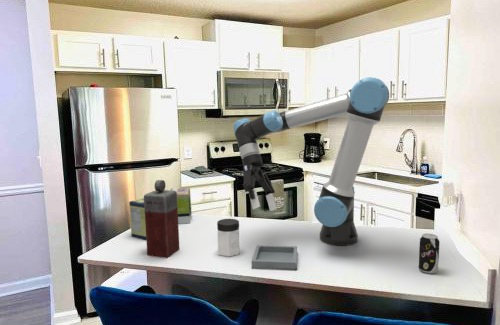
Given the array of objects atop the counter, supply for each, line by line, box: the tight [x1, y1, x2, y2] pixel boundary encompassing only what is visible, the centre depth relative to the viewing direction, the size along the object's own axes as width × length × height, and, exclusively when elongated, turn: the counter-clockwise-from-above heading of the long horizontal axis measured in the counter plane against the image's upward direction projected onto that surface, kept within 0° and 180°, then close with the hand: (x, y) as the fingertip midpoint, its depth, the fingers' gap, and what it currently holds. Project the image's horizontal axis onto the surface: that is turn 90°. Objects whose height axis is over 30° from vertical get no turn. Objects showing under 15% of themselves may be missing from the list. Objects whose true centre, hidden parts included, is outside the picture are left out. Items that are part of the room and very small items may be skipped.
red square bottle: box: [143, 179, 180, 259], centre depth 141 cm, size 9×11×28 cm
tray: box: [251, 244, 298, 271], centre depth 133 cm, size 15×15×3 cm
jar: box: [216, 218, 240, 258], centre depth 141 cm, size 9×8×12 cm
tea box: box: [170, 187, 193, 225], centre depth 184 cm, size 15×10×15 cm
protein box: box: [129, 197, 146, 241], centre depth 164 cm, size 10×16×16 cm
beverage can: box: [418, 232, 441, 275], centre depth 121 cm, size 6×6×12 cm
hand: (265, 209), depth 139 cm, fingers open, 13 cm apart
